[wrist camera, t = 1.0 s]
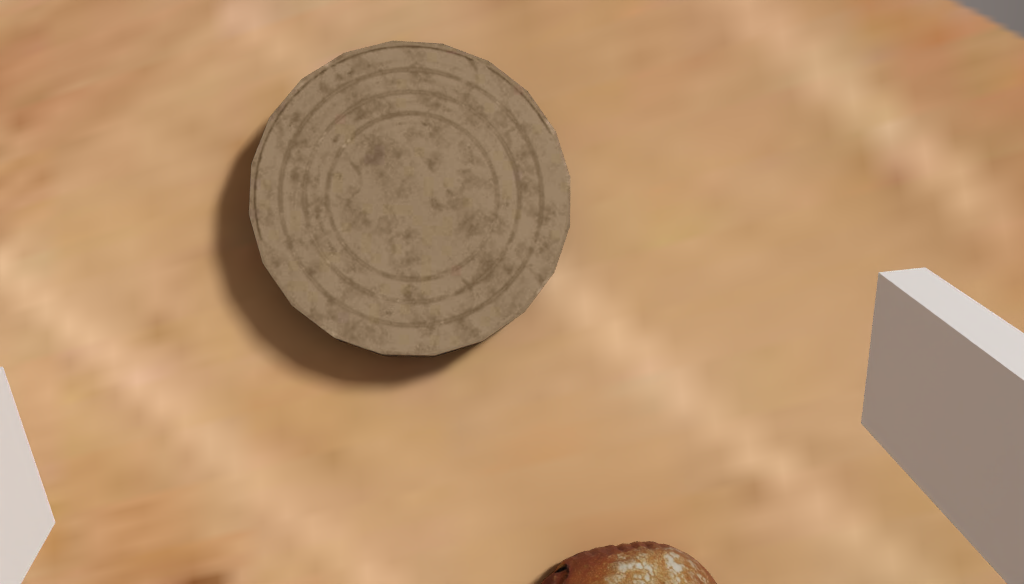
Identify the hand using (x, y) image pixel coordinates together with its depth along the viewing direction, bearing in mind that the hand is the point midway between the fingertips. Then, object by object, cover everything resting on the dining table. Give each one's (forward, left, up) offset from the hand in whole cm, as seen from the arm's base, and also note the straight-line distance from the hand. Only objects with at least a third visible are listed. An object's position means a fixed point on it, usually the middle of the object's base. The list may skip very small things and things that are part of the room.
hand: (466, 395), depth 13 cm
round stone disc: (+9, -1, -33) cm, 34 cm away
